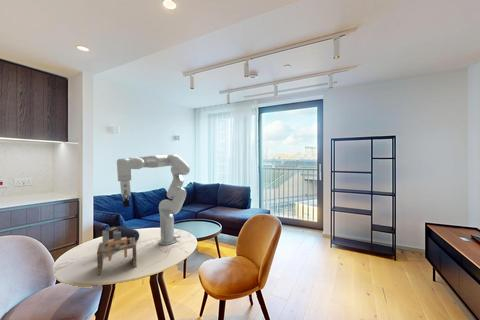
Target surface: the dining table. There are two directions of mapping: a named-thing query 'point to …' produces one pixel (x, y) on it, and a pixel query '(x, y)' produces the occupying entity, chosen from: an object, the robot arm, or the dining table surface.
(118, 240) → the tan and grey block
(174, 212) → the robot arm
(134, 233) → the portable speaker
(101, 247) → the shelf
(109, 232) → the coffee box
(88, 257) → the dining table surface
